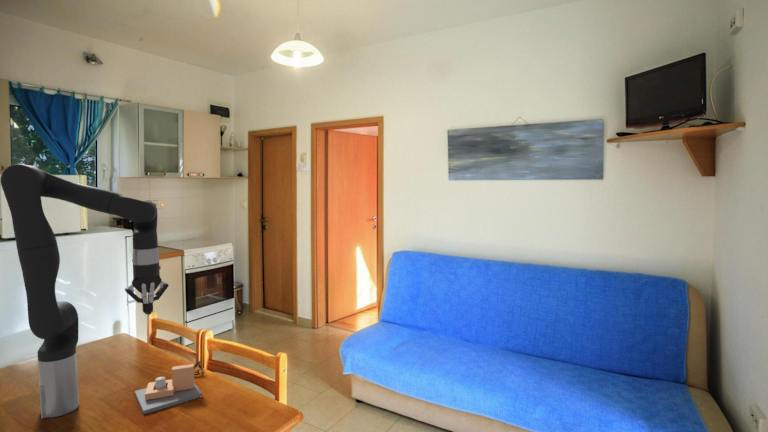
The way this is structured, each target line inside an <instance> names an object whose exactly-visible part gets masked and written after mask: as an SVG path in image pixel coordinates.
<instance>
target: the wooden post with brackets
mask: <svg viewBox="0 0 768 432" xmlns="http://www.w3.org/2000/svg"><path fill="white" fill-rule="evenodd" d="M201 363H202V360H197V361H196V362H195V364H194V373H197V374H199V373H200V371H203V370H204V369H203V367H202V365H201ZM197 368H199V369H197ZM195 369H196V371H195Z"/></svg>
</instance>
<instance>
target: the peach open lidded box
mask: <svg viewBox="0 0 768 432" xmlns="http://www.w3.org/2000/svg"><path fill="white" fill-rule="evenodd" d="M194 365H195V364H194V363H191V364H181V365H175V366H172V367H171V379H166V388H163V389H157V390H156V388H155V381H151V382H148V384H147V386H146V388H147V389H146V392H145V400H150V399H156V398H162V397H168V396H173V395H174V391H181V390H187V389H193V388H194V383H195V375H194V372H195V369H194Z"/></svg>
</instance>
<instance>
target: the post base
mask: <svg viewBox="0 0 768 432" xmlns="http://www.w3.org/2000/svg"><path fill="white" fill-rule="evenodd" d="M166 380H167V378H166V376H159V377H156V378H155V379H154V382H155V388H156V390H157V389H163V388H166ZM146 389H147V387H145V388H141V389H138V390H135V391H134V396H135V398H136V400H137V403H138V406H139V408H140V410H141V412H142V415H146V414H150V413H154V412H157V411H161V410H164V409H167V408H170V407H172V406H175V405H176V406H177V405H179V404H180V405H181V404H183V403H186V402H189V400H190V401H193V400H196V399H195V398H197V399H199V398H198V397H200V396H202V397H203V392H202V391H201V390H200V388H199V387H198V386H197V384H196V383H195V382H194V388H193V389H187V390H181V391H174V395H173V396H168V397H162V398H156V399H150V400H145V392H146ZM200 398H201V397H200ZM192 399H193V400H192Z"/></svg>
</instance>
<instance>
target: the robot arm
mask: <svg viewBox="0 0 768 432" xmlns="http://www.w3.org/2000/svg"><path fill="white" fill-rule="evenodd" d="M0 186H1V188H2V191H3V194H4V196H5V200H6V202H7V205H8V208H9V211H10V215H11V219H12V227H13V233H14V239H15V244H16V251H17V255H18V259H19V265H20V268H21V272H22V277H23V278H22V279H23V284H24V287H25V293H26V294H25V295H26V303H27V319H28V325H29V330H30V331H31V332H32V334H33V335H34V336H35V337H36V338H38V339H40V340H43V342H42V343H41V344H40V345H41V346H39V348H38V350H37V366H38V368H37V369H38V380H39V381H38V384H39V385H38V386H39V387H38V388H39V389H38V390H39V405H40V406H39V407H40V418H41V419H46V418H56V417H60V416H61V417H62V416H64V415H67V414H69V413H71V412H73V411H75V410H76V409H77V408H79V405H80V402H79V400H80V398H79V385H78V384H79V382H78V365H77V364H78V362H77V345H78V342H79V315H78V311H77V309H76V307H75V305H73V304H72V303H70V302H69V301H63V300H61V301H59V300H58V301H57V295H56V282H57V280H58V279H57V278H58V273H59V270H60V263H61V259H60V258H61V256H60V251H59V247H58V241H57V238H56V235H55V233H54V231H53V228H52V227H51V225H50V223H49V221H48V219H47V217H46V215H45V212H44V210H43V209H44V208H43V204H42V198H49V199H50V198H51V199H56V200H61V201H65V202H68V203H70V204H71V203H72V204H74V205H77V206H79V207H83V208H86V209H88V210H92V211H96V212H99V213H104V214H109V215H113V216H117V217H120V218H123V219H125V220H129V221H132V222H133V229H134V230H133V233H132V259H131V260H132V278H133V279H132V281H131V284H130V285H129V286H127V287H125V288H124V291H125V293H126V294H128V295H129V296H130V297H131V298H132V299H133V300H134V301H135V302H137V303H138V304H141V305H142V312H143V313H144V314H145V316H146V315H151V314H152V313H153V311H154V302H155V301H158V300H159V299H160V298H161V297H162V295H164V293H165V292H166V290H167V289H168V287H169V284H168V283H167V282H164V281H163V280H162V278H161V276H160V275H161V274H160V273H161V272H160V252H159V247H158V246H159V244H158V242H159V241H158V234H157V233H158V232H157V229H158V208H157V205H156V204H155V203H154V202H152V201H150V200H145V199H144V200H143V199H142V200H141V199H137V198H132V197H129V196H125V195H124V194H122V193H118V192H115V191H111V190H108V189H104V188H100V187H95V186H91V185H87V184H82V183H78V182H74V181H71V180H67V179H64V178H62V177H59V176H56V175H53V174H51V173H49V172H46V171H44V170H42V169H41V168H38V167H37V166H35V165H30V164H22V163H16V164H11V165H9V166H7V167H6V168H5V169H3V171H2V173H1V175H0ZM158 287H159V289H158ZM135 289H136V290H137V292H139V293H140V296H141V297H139V296H138V295H137V294H136V293H135ZM157 289H158V290H157ZM156 290H157V291H156ZM155 291H156V293H155Z"/></svg>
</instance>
